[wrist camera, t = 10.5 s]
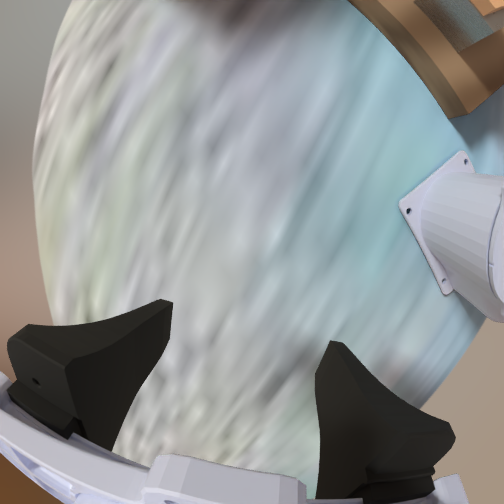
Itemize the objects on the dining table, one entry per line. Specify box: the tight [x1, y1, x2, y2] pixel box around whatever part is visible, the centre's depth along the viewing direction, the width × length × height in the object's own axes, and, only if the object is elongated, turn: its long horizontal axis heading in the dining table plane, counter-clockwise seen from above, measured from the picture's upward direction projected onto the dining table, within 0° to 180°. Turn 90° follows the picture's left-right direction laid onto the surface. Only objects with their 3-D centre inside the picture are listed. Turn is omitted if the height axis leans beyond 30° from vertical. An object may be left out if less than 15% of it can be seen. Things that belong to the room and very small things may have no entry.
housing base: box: [414, 0, 504, 53], centre depth 8 cm, size 8×5×5 cm, turn 129°
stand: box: [348, 0, 504, 119], centre depth 12 cm, size 13×13×3 cm
